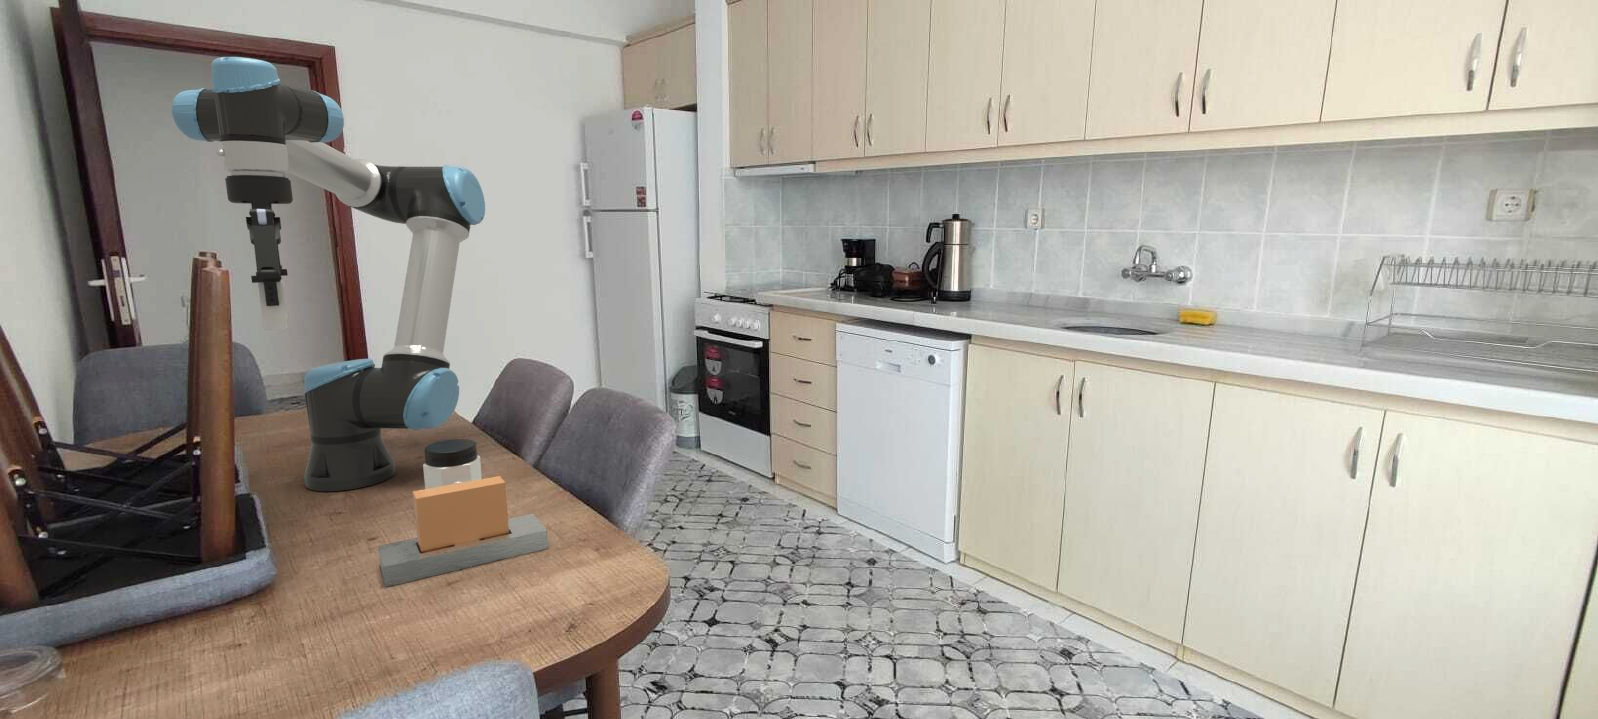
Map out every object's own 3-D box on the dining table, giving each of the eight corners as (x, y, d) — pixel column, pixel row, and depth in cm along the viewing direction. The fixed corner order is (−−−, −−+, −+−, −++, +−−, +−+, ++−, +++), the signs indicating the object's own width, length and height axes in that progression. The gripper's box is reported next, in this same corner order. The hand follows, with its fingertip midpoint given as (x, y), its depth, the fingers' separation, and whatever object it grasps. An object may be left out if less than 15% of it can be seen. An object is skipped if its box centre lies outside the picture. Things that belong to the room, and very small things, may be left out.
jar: (431, 525, 122) (424, 455, 120) (424, 509, 129) (418, 443, 126) (488, 513, 127) (483, 447, 125) (479, 499, 133) (474, 435, 131)
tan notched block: (419, 562, 108) (412, 491, 106) (504, 542, 115) (499, 475, 113) (423, 571, 106) (416, 498, 104) (510, 551, 112) (505, 482, 110)
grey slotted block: (380, 565, 107) (377, 546, 107) (534, 530, 120) (533, 513, 119) (385, 587, 101) (383, 566, 100) (548, 548, 113) (546, 530, 113)
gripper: (230, 178, 112) (249, 317, 116) (217, 168, 92) (240, 336, 95) (290, 180, 116) (306, 314, 120) (289, 170, 96) (309, 331, 100)
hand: (276, 324), depth 108 cm, fingers open, 13 cm apart
